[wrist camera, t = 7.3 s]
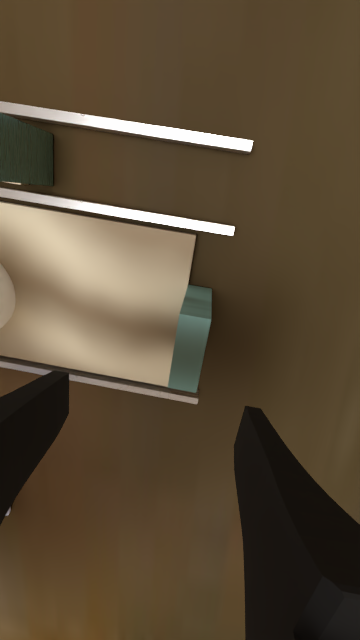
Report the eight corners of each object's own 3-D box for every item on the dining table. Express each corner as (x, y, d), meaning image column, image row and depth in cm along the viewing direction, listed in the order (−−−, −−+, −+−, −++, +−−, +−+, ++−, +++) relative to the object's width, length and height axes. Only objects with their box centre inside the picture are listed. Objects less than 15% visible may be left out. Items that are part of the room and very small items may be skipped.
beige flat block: (192, 385, 23) (186, 439, 18) (-90, 332, 24) (-174, 368, 19) (222, 238, 19) (225, 252, 14) (-122, 180, 20) (-241, 173, 15)
